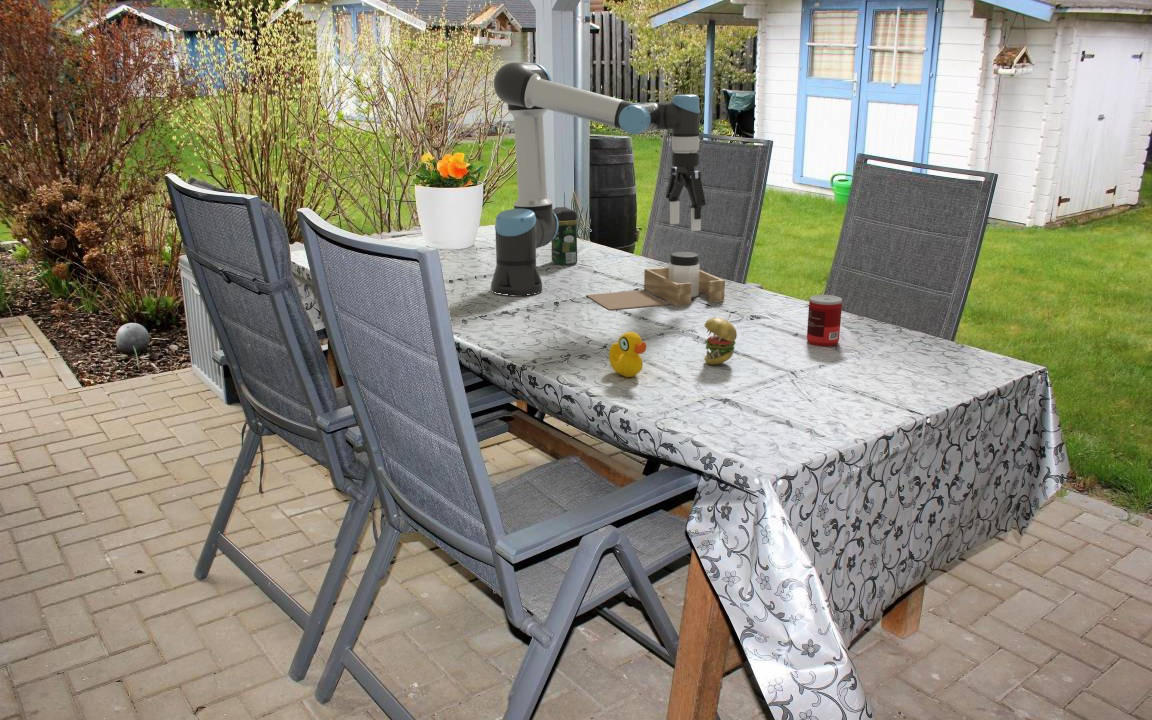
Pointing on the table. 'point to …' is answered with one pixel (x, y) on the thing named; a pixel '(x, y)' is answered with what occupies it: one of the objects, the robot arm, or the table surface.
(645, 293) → the mat
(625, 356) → the duckling
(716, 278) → the crate
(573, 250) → the coffee jar
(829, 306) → the canned food
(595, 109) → the robot arm
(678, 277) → the jar
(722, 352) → the hamburger
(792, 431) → the table surface
